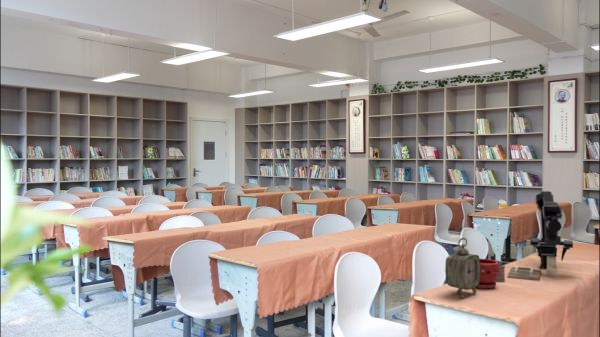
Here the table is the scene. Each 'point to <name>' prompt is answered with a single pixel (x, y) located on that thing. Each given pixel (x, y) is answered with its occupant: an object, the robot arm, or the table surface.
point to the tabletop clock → (463, 270)
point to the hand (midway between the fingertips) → (551, 259)
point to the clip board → (524, 273)
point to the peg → (551, 266)
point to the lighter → (500, 272)
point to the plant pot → (488, 273)
